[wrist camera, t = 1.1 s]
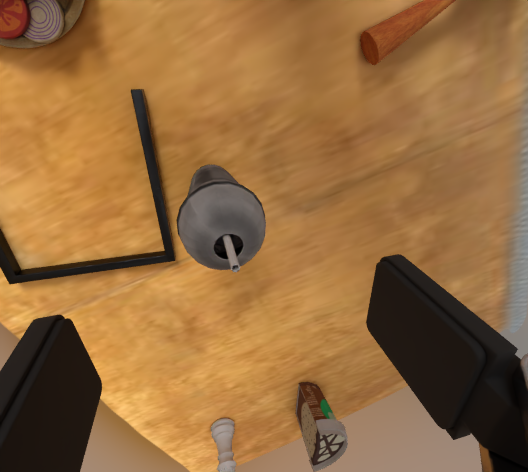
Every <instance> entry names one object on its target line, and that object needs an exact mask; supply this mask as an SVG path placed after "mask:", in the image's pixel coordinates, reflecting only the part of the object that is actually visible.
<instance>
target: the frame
mask: <svg viewBox="0 0 528 472" xmlns="http://www.w3.org/2000/svg"><path fill="white" fill-rule="evenodd" d="M131 94H132V99H133V103H134V108H135V113H136V117H137V122H138V127H139V131H140V136H141V141H142V146H143V150H144V155H145V160H146V164H147V169H148V174H149V179H150V183H151V188H152V193H153V197H154V202H155V207H156V212H157V216H158V221H159V226H160V230H161V235H162V240H163V245H164V249H165V251H161V252H153V253H146V254H138V255H131V256H123V257H116V258H108V259H101V260H93V261H86V262H78V263H71V264H64V265H56V266H49V267H41V268H34V269H26V270H21V269H20V267H19V265H18V263H17V261H16V259H15V257H14V255H13V253H12V251H11V249H10V247H9V245H8V243H7V241H6V239H5V237H4V235H3V233H2V231H1V229H0V267H1V269H2V271H3V273H4V275H5V277H6V279H7V280H8V282H9V284H15V283H22V282H29V281H36V280H43V279H50V278H57V277H64V276H71V275H78V274H86V273H93V272H100V271H107V270H114V269H121V268H128V267H135V266H142V265H149V264H156V263H163V262H171V261H175V260H176V255H175V250H174V244H173V239H172V234H171V229H170V224H169V219H168V214H167V208H166V203H165V198H164V193H163V188H162V183H161V177H160V172H159V167H158V162H157V157H156V152H155V146H154V141H153V136H152V131H151V126H150V121H149V115H148V110H147V105H146V100H145V95H144V90H143V89H136V90H131Z"/></svg>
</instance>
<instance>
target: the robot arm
mask: <svg viewBox="0 0 528 472" xmlns="http://www.w3.org/2000/svg"><path fill="white" fill-rule="evenodd" d="M366 323H367V328H368V330H369V332H370V333H371V335H372V336H373V337H374V339H375V340H376V341H377V343H378V344H379V346H380V347H381V348H382V350H383V351H384V352H385V354H386V355H387V357H388V358H389V359H390V361H391V362H392V363H393V365H394V366H395V368H396V369H397V370H398V372H399V373H400V374H401V376H402V377H403V379H404V380H405V381H406V383H407V384H408V385H409V386H410V388H411V390H412V391H413V392H414V394H415V395H416V396H417V398H418V399H419V401H420V402H421V403H422V405H423V406H424V407H425V409H426V410H427V412H428V413H429V414H430V415H431V417H432V418H433V420H434V421H435V422H436V424H437V425H438V426H439V427H441V428H442V429H446V431H447V432H448V433H449V435H450V436H451V437H452V439H453V440H455V439H458V438H461V437H464V436H467V435H470V434H471V433H472V434H473V436H474V437H475V438H476V439H477V441H478V442H479V447H480V456H481V464H482V472H528V354H526V355H524V356H523V358H522V359H520V358H518V357H517V356H516V355H515V353H516V352H517V350H518V349H517V348H516V347H515V346H514V345H512V344H511V343H510V342H509V341H508V340H506V339H505V338H504V337H503V336H501V335H500V334H499V333H498V332H496V331H495V330H494V329H493V328H491V327H490V326H489V325H488V324H487V323H485V322H484V321H483V320H482V319H480V318H479V317H478V316H477V315H475V314H474V313H473V312H472V311H470V310H469V309H468V308H467V307H466V306H464V305H463V304H462V303H461V302H459V301H458V300H457V299H456V298H454V297H453V296H452V295H451V294H450V293H448V292H447V291H446V290H445V289H443V288H442V287H441V286H440V285H438V284H437V283H436V282H435V281H433V280H432V279H431V278H430V277H429V276H427V275H426V274H425V273H424V272H422V271H421V270H420V269H419V268H417V267H416V266H415V265H414V264H412V263H411V262H410V261H409V260H408V259H406V258H405V257H404V256H402V255H399V254H398V255H392V256H387V257H383V258H382V259H381V260H380V262H379V263H377V265H376V270H375V276H374V281H373V287H372V293H371V298H370V304H369V309H368V315H367V321H366ZM101 391H102V383H101V379H100V377H99V375H98V373H97V371H96V369H95V367H94V365H93V363H92V361H91V359H90V357H89V355H88V352H87V350H86V348H85V346H84V344H83V342H82V340H81V338H80V336H79V334H78V332H77V330H76V328H75V326H74V324H73V322H72V321H71V319H65V318H64V317H63V316H62V315H54V316H49V317H43V318H37V319H35V320H33V322H32V323H31V324H30V326H29V327H28V329H27V330H26V332H25V333H24V335H23V337H22V338H21V340H20V341H19V343H18V344H17V346H16V348H15V349H14V351H13V352H12V354H11V355H10V357H9V359H8V360H7V362H6V363H5V365H4V366H3V368H2V370H1V371H0V472H80V469H81V466H82V462H83V458H84V455H85V451H86V447H87V444H88V440H89V436H90V433H91V429H92V425H93V422H94V417H95V414H96V410H97V407H98V403H99V400H100V396H101Z"/></svg>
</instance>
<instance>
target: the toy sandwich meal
mask: <svg viewBox="0 0 528 472" xmlns="http://www.w3.org/2000/svg"><path fill="white" fill-rule="evenodd" d="M84 2H85V0H0V45H3V46H8V47H15V48H34V47H40V46H44V45H47V44H50V43H52V42H54V41H56V40H58V39H59V38H61V37H62V36H63V35H65V34H66V33H67V32H68V31H69V30H70V29H71V28H72V26H73V25H74V24H75V22H76V21H77V19H78V17H79V15H80V14H81V11H82V8H83V5H84Z"/></svg>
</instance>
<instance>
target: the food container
mask: <svg viewBox="0 0 528 472" xmlns="http://www.w3.org/2000/svg"><path fill="white" fill-rule="evenodd" d="M296 416H297V419H298V423H299V426H300V429H301V432H302V436H303V439H304V442H305V445H306V448H307V452H308V455H309V458H310V460H309V461H310V464H311V466H312V468H313V471H314V472H315V471H318V470H321V469H323V468H325V467H327V466H329V465H331V464H332V463H334V462H335V461H336V460H338V459H339V458H340V457H341V456H342V455H343V453H344V452H345V450H346V448H347V444H348V443H347V435H346V431H345V427H344V425H343V424H342V423H341V422H339V421H337V420H336V418H335V416H334V414H333V412H332V410H331V408H330V407H329V405H328V403H327V401H326V399H325V397H324V395H323V393H322V392H321V390H320V388H319V386H318V385H316V384H314V383H309V382H304V383H299V386H298V395H297V405H296Z"/></svg>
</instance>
